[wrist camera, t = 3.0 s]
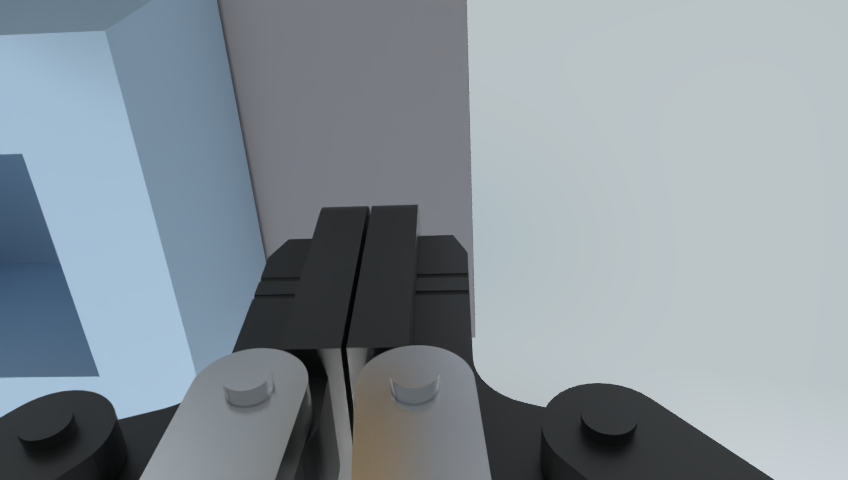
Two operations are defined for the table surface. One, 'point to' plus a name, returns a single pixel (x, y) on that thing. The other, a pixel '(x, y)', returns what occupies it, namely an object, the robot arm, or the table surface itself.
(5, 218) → the blue block with hole
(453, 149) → the mat
